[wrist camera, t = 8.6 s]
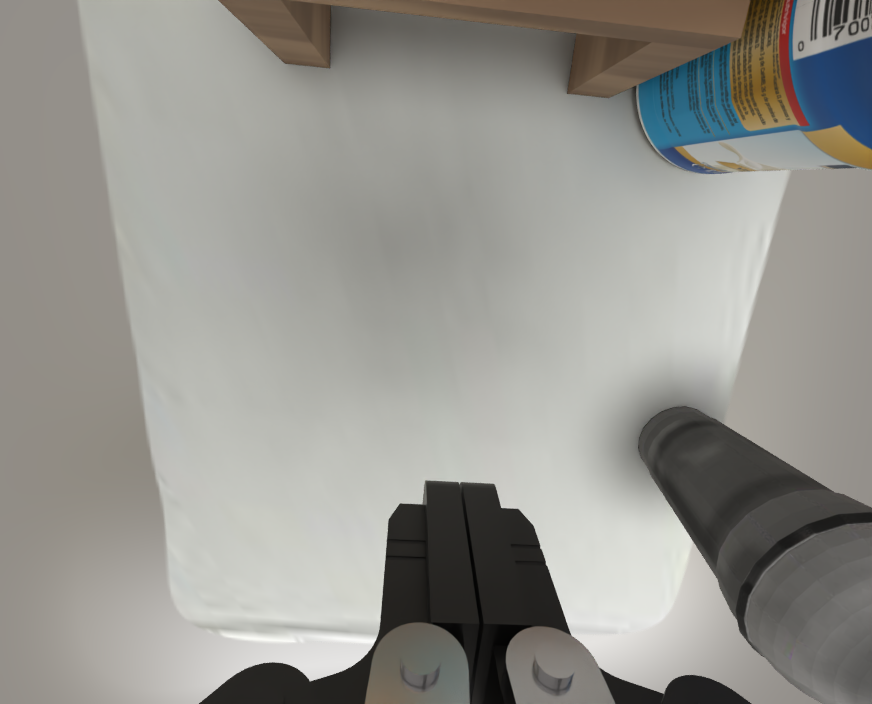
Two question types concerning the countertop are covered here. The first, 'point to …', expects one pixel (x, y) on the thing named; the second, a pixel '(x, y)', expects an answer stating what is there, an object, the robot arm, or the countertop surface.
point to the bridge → (531, 8)
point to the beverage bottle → (771, 94)
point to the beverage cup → (773, 551)
